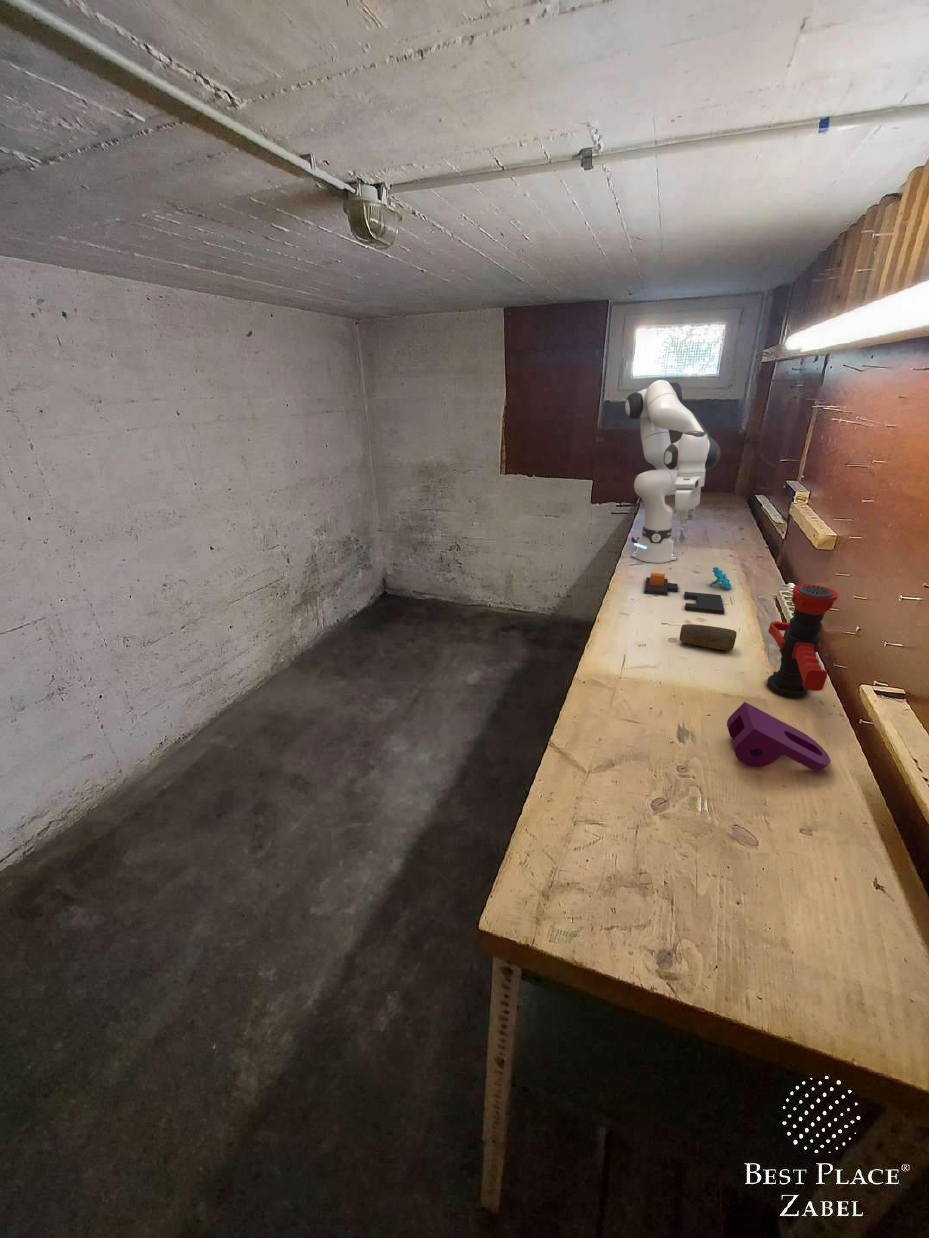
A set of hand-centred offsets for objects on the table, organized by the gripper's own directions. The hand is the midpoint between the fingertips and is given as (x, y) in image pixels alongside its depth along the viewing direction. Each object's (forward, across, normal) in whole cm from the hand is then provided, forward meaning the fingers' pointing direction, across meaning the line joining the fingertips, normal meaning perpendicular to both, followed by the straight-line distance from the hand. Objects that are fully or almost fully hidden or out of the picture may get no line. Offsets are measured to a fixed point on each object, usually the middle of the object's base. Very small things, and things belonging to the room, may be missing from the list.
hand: (686, 521), depth 171 cm
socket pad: (+28, +4, +9) cm, 30 cm away
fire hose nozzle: (+34, +50, +39) cm, 72 cm away
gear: (+27, -16, +11) cm, 33 cm away
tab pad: (+26, -4, -8) cm, 28 cm away
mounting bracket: (+37, +77, +39) cm, 94 cm away
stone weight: (+32, +35, +16) cm, 50 cm away
